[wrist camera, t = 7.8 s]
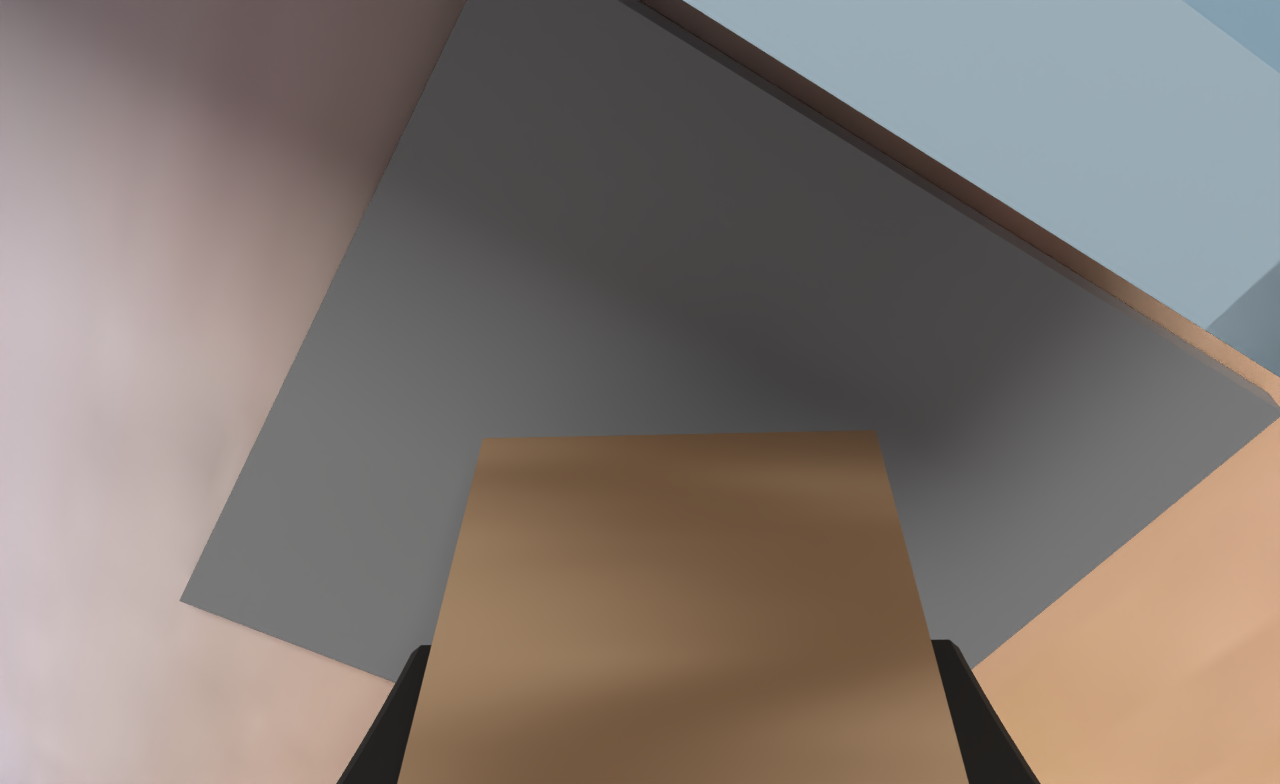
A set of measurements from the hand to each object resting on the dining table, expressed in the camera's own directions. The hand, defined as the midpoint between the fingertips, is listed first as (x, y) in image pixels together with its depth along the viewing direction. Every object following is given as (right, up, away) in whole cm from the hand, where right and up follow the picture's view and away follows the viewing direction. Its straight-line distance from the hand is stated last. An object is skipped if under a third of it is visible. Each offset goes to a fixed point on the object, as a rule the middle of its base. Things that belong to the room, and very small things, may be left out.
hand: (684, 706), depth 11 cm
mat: (0, +2, +3) cm, 3 cm away
